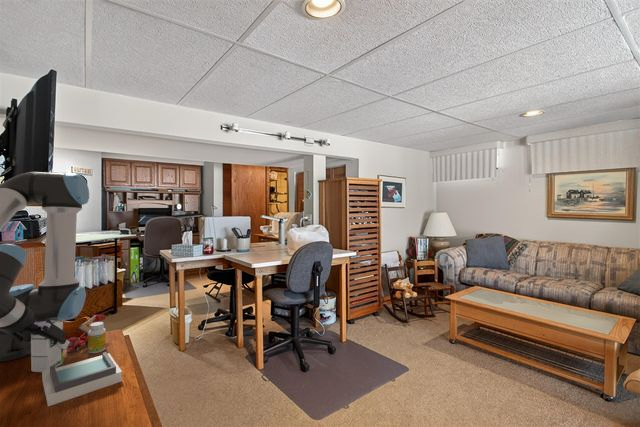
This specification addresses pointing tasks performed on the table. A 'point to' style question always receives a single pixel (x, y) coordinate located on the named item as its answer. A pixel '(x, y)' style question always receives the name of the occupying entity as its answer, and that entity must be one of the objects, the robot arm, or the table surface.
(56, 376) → the dock
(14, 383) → the table surface
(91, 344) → the supplement bottle
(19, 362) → the table surface
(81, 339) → the toy fire truck
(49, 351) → the syrup box
